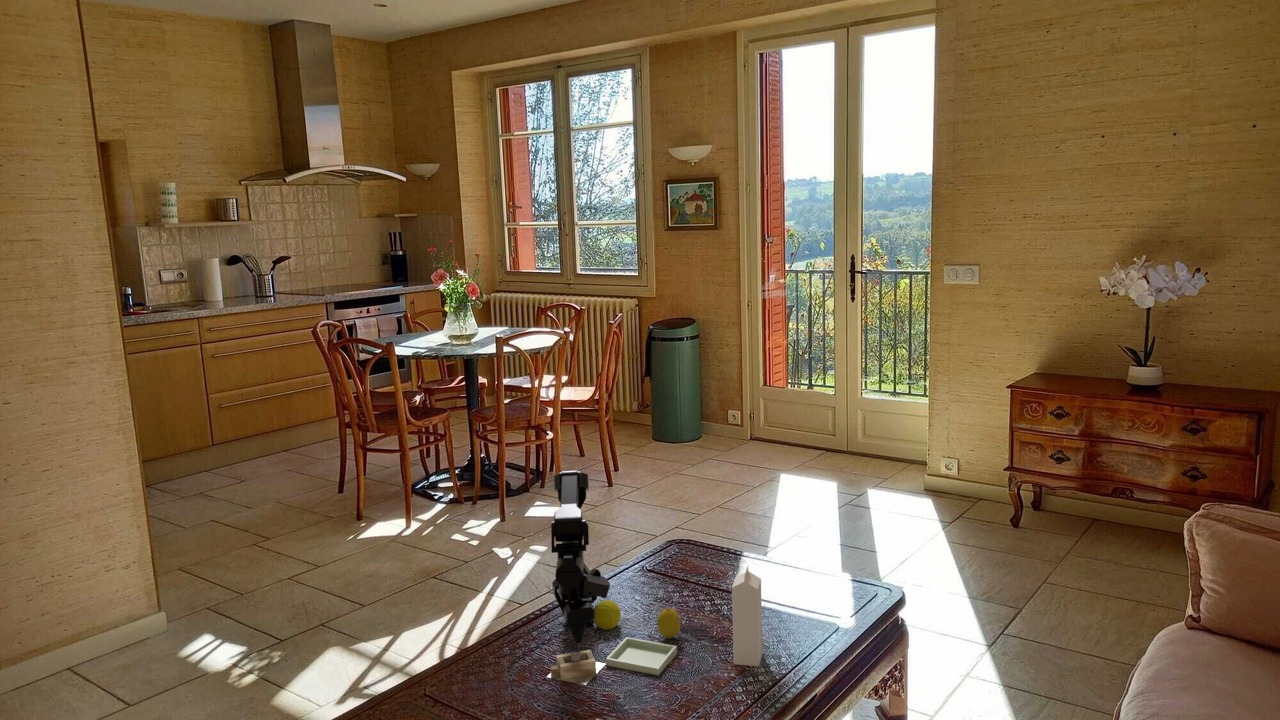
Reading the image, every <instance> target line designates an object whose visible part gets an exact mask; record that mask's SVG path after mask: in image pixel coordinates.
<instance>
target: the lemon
mask: <svg viewBox="0 0 1280 720" xmlns="http://www.w3.org/2000/svg"><path fill="white" fill-rule="evenodd" d="M657 628H658V631H659V633H660V635H661V636H662V637H664V638H667V639H668V640H670V639H672V638H674V637H676V636H677V635H678V634H679V631H680V629H681V619H680V615H679V613H678V612H677V611H676V610H674V609H673V608H670V607H666V608H664V609H663V610H661V612H660V613H659V615H658V616H657Z"/></svg>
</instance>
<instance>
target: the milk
mask: <svg viewBox="0 0 1280 720" xmlns="http://www.w3.org/2000/svg"><path fill="white" fill-rule="evenodd" d="M731 605H732V606H731V609H732V650H733V651H732V652H733V653H732V654H733V655H732V656H733V657H732V658H733V659H732V661H733V665H739V666H750V667H760V665H761V661H762V655H763V629H762V628H763V627H762V624H763V621H762V620H763V619H762V579H761V577H759V576H757V575H756V574H754V573H752V572H751V571H749V565H747V567H746V569H745V572H743V573H741V574H739V575H736V576H735V578H734V581H733V583H732V587H731Z"/></svg>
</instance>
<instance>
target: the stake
mask: <svg viewBox="0 0 1280 720" xmlns="http://www.w3.org/2000/svg"><path fill="white" fill-rule="evenodd" d="M570 653H571V662H577V661H581V654H580V652H579V650H573V651H572V652H570ZM605 665H606V662H605V663H604V662H598V661H596V673H594V674H588V675H583V676H577V677H572V678H566V679H561V676H560V675H557V676H552V674H551V672H550V673H549V674H548V675H547V676H546V678H549V679H554V680H560V681H564V682H568V683H572V684H578V685H582V686H587V685H588V683H590V681H592V679H594V677H595V676H596V675H597V674H598V673H599V672H600V671H601V670H602V669H603V667H604V666H605Z"/></svg>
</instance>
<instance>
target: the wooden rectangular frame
mask: <svg viewBox="0 0 1280 720" xmlns="http://www.w3.org/2000/svg"><path fill="white" fill-rule="evenodd" d="M578 651H579V650H578ZM579 652H580V654H581V661H577V662H571V652H568V653H563V654H561V653H560V654H557V655H556V656H555V657H556V664H555V665H552V666H551V665H550V673H551V674H552V676H557V675H560V676H561V679H566V678H572V677H577V676H583V675H588V674H594V673H596V662H597V660H596V658H595V657H594V654H593V653H592V650H591V649H586V650H580V651H579Z"/></svg>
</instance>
